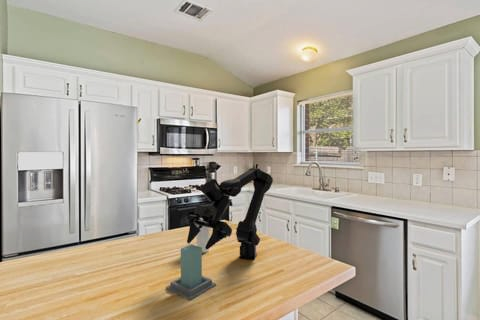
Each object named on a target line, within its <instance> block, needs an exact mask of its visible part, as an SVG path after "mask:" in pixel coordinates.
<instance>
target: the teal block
mask: <svg viewBox="0 0 480 320" xmlns="http://www.w3.org/2000/svg"><path fill="white" fill-rule="evenodd" d="M202 255H203V253H202V247H198V246H197V245H195V244H189V245H186V246H184V247H181V248H180V278H181V285H182V286H184V287H186V288H189V289H192V288H194V287H196V286H198V285H200V284H202V276H203V273H202V272H203V269H202V268H203V267H202V265H203V263H202V262H203V258H202V257H203V256H202Z"/></svg>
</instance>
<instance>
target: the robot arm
mask: <svg viewBox="0 0 480 320" xmlns="http://www.w3.org/2000/svg"><path fill="white" fill-rule="evenodd" d="M251 182H253V183H252V185H253V189H254V191H253V194H252V197H251V199H250V202H249V206H248V209H247V213H245V214H246V215H245V217H244V220H239V221H238V224H237V227H236V229H235V231H236V232H235V235H236V240H237V242H238V243H240V245H239V259H241V260H242V259H244V260H255V259H256V258H257V255H258V253H257V246H258V245H259V244H260V241H261V238H260V236H259V235H258V234H257V232H258V229H257V224H256V223H257V220H258V216H259V213H260V210H261V206H262V203H263V199H264V197H265V194H266V193H267V192H268V191H269V190H270V189H271V188H272V187H271V186H272V185H273V182H274V179H273V177H272V175H271V174H269V173H267V172H265V171H262V170H261V169H260V168H256V167H251V168H249V169H248V170H247V171H245V172H243V173H242V174H240V175H238V176H237V177H235V178H233V179H226V180H224V181H221V182H220V184H219V183H218V180H216V178H211V179H210V180H208V181H207V182H205V183H204V184H202V186H201V189H200V190H201V193H203V194H204V196H205V197H206V199H207V200H208V201H209V202H211V203H212V204H211V205H207V206H204V205H199V204H196V206H195V208H194V209H195V210H194V212H193V214H189V215H188V216H187V217H186V219H185V220H186V222H187V224H188V227H189V228H188V235H187V240H186V243H187V244H189V245H190V243H191V242H193V240H194V239H195V238H196V235H197V234H198V233H199V232H200V231H201V230H200V228H202V227H203V226H205V227H209V228H210V229H212V231H211V234H210V237H209V241H208V242H207V245H206V247H205V249H207V250H208V249H209V250H210V248H212V247H213V246H215V244H217V243H219V242H220V241H222V240H223V239H226V238H227V237H228V238H230V237H231V235H232V233H233V229H232V227H231V226H230V224H228V223H227V222H226V221H223V220H222V219H224V218H225V215H224V214H225V212H226V211H227V208H228V207H233V205H234V204H233V200H232V198H229V197H233V198H234V197H237V196H238V195H239V194H240V193H241V192H242V188H243V187H245V186H246V185H248V184H249V183H251ZM199 216H200V217H199ZM200 218H202V219H203V220H201V219H200Z"/></svg>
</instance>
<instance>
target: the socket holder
mask: <svg viewBox="0 0 480 320" xmlns="http://www.w3.org/2000/svg"><path fill="white" fill-rule="evenodd" d="M215 287H217V283H215V282H213V279H211V278H209V277H206V276H204V275H202V284H200V285H198V286H196V287H194V288H192V289H189V288H186V287H184V286H182V285H181V277H178V278H177V279H174V280H172V281H170V283H169V285H167V286H166V287H165V289H166V290H168V291H169V292H172V293H174V294H176V295H178V296H180V297H182V298H184V299H186V300H188V301H192V300H193V299H194V300H195V299H196V298H197V297H199V296H201V295H202V294H204V293H207V292H208V291H209V290H211V289H213V288H215Z"/></svg>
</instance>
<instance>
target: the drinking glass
mask: <svg viewBox="0 0 480 320" xmlns="http://www.w3.org/2000/svg"><path fill="white" fill-rule="evenodd" d="M199 218H200V219H201V220H203V219H202V218H201V217H199ZM200 230H201V231H200V232H199V233H198V234H197V235H196V237H195V238H196V246H198V247H202V254H205V253H208V252H209V250H210V248H209V249H208V250H207V249H205V247H206V245H207V242H208V241H209V239H210V237H211V228H209V227H205V226H203V227H202V228H200Z"/></svg>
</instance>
